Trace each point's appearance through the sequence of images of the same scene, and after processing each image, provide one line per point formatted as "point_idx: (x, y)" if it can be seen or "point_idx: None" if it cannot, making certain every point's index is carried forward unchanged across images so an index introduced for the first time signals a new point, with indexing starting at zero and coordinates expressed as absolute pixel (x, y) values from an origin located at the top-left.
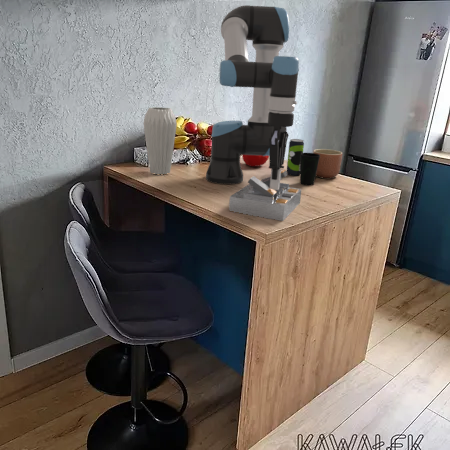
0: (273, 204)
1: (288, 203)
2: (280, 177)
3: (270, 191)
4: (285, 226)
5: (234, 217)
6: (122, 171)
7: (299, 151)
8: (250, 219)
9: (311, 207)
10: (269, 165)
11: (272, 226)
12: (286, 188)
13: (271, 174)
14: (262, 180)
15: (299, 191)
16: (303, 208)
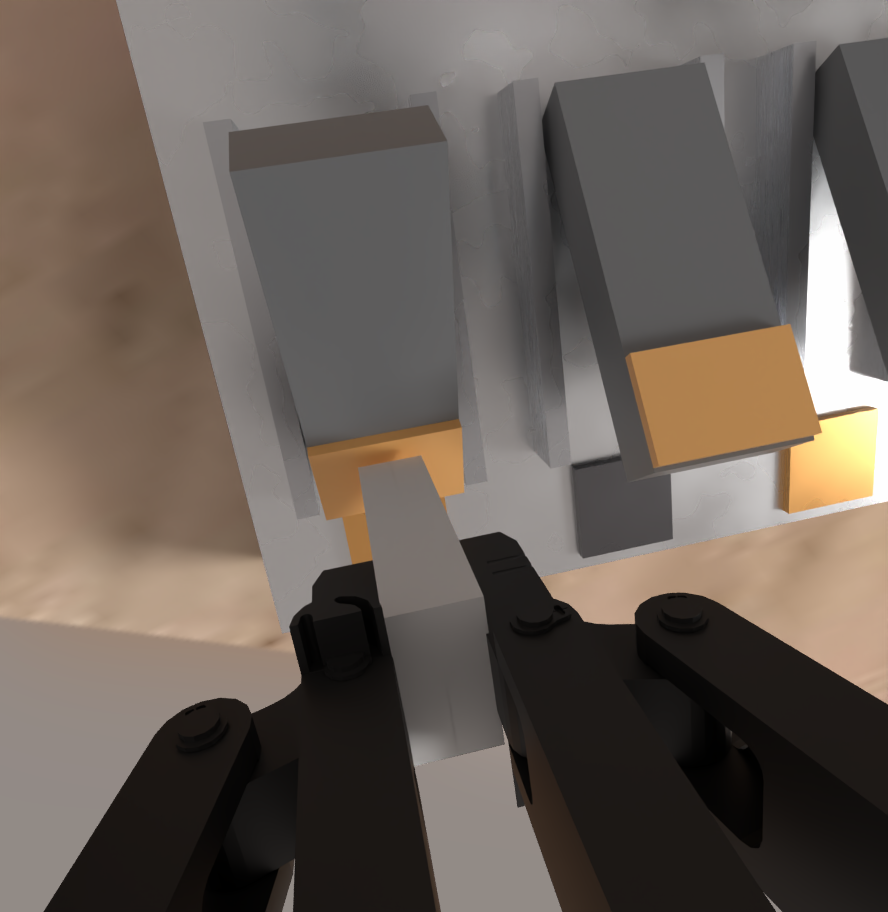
0: (257, 527)
1: None
2: (757, 454)
3: (335, 483)
4: (186, 628)
5: (30, 161)
6: None
7: None
8: (110, 325)
9: (756, 564)
10: (145, 755)
11: (103, 559)
12: (882, 365)
13: (376, 567)
14: (850, 89)
15: (849, 507)
16: None
